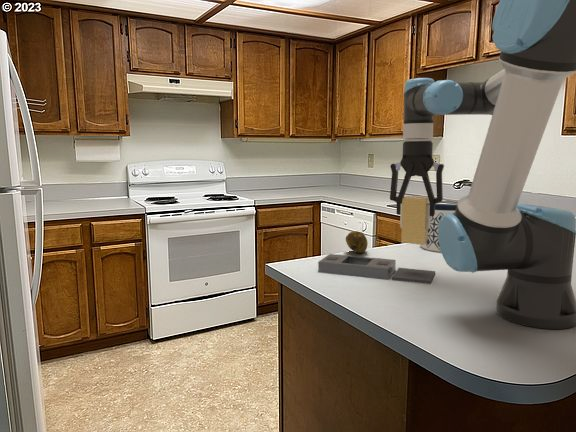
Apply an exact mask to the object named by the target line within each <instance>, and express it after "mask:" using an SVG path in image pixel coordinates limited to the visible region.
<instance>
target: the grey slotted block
mask: <svg viewBox="0 0 576 432" xmlns="http://www.w3.org/2000/svg"><path fill="white" fill-rule="evenodd" d="M396 262H397V260H396V259H390V258H389V259H388V258H381V257H380V258H378V257H368V256H367V257H366V256H356V255H346V254H334V253H330V254H328V255H326V256H324V257H323V258H322V259H319V261H318V262H317V263H318V264H317V266H318V270H317V271H318V273H325V274H335V275H345V276H354V277H363V278H371V279H382V280H389V279H390V278H391V277H392V276H393V275H394V273H395V272H396Z"/></svg>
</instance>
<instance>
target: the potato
mask: <svg viewBox="0 0 576 432" xmlns="http://www.w3.org/2000/svg"><path fill="white" fill-rule="evenodd" d="M345 242H346V245H347V247H348V248H349V249H350V250H352V251H353V252H355V253H357V254H363V253H365V252H366V250H367V248H368V244H369V243H368V239H367V237H366V235H365V234H364V233H363V232H361V231H357V230H356V231H355V230H354V231H350V232H349V233H348V234H347V235H346V236H345Z"/></svg>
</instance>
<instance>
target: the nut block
mask: <svg viewBox="0 0 576 432" xmlns="http://www.w3.org/2000/svg"><path fill="white" fill-rule="evenodd" d="M428 203H430V202H429V199H428V195H427V196H426V195H424V196H422V195H404V198H402V228H401V239H400V240H401V242H400V243H401V244H413V245H420V244H423V245H425V243H426V242H427V240H428V229H426V211H427V204H428Z"/></svg>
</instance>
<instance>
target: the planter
mask: <svg viewBox="0 0 576 432" xmlns="http://www.w3.org/2000/svg"><path fill="white" fill-rule="evenodd" d="M456 207H457V204H451V203H450V204H449V203H446V204H445V203H442V204H441V203H436V204H435V215H434V216H430V228H429V229H428V240H427V242H426V243H425V245H423V244H419V246H420V247H421V248H422V249H424V250H427V251H430V252H434V253H435V252H436V253H441V250H440V246H439V241H438V225H439V221H440V219H441V218H442V217H443V216H444V215H446V214H448V213H451V214H454V213H455V210H456Z"/></svg>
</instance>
